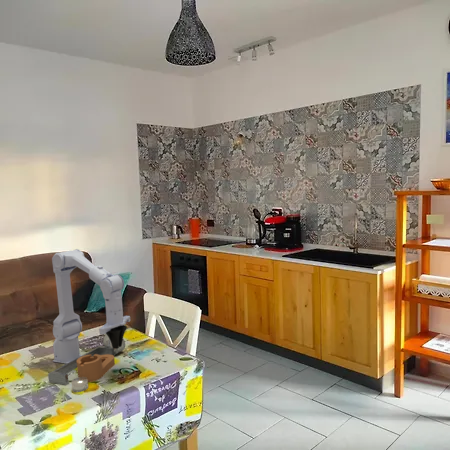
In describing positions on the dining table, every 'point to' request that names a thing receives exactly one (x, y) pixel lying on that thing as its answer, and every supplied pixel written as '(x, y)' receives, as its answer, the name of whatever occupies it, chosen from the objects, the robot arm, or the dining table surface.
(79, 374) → the bracket
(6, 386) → the dining table surface
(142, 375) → the dining table surface
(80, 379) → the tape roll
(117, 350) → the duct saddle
